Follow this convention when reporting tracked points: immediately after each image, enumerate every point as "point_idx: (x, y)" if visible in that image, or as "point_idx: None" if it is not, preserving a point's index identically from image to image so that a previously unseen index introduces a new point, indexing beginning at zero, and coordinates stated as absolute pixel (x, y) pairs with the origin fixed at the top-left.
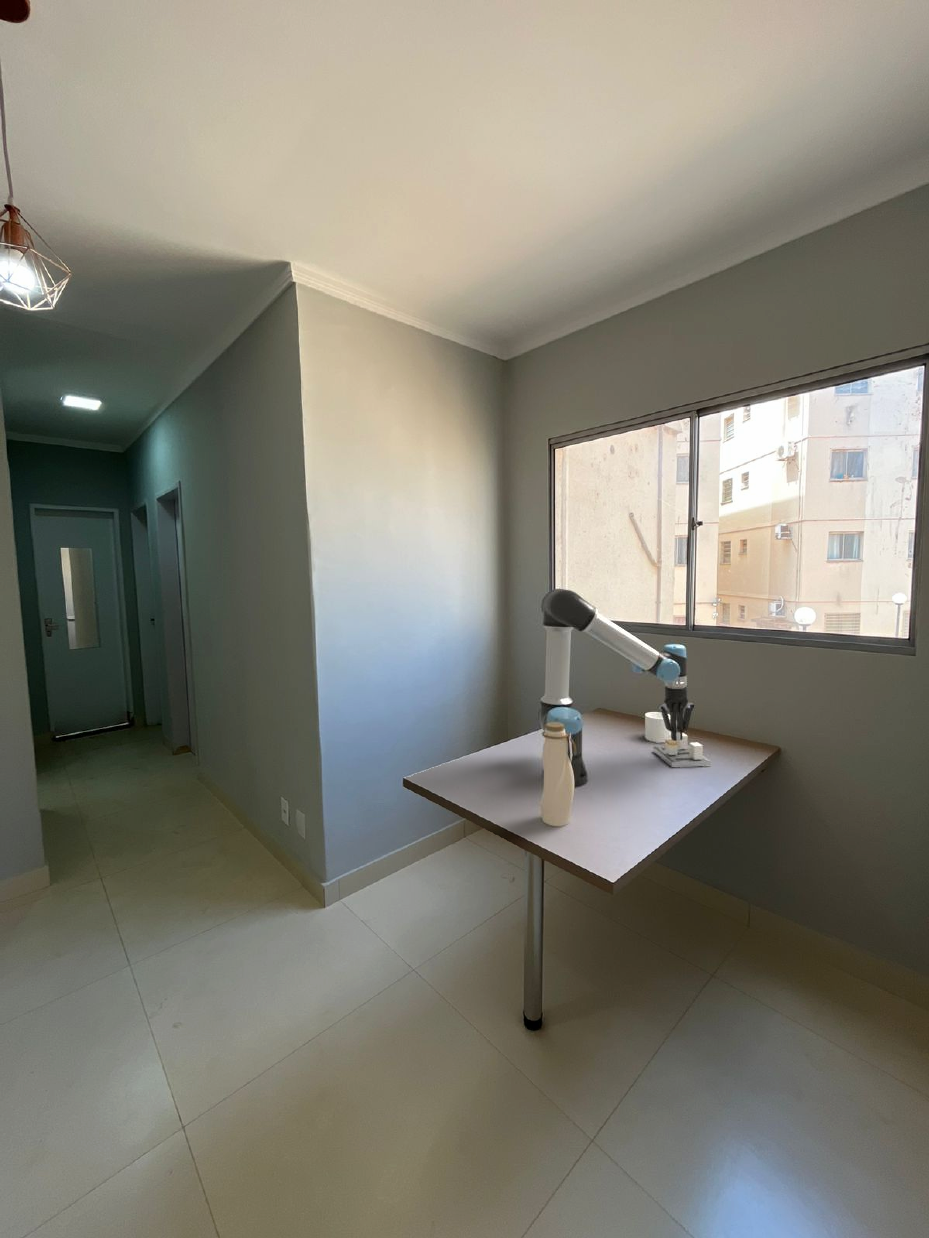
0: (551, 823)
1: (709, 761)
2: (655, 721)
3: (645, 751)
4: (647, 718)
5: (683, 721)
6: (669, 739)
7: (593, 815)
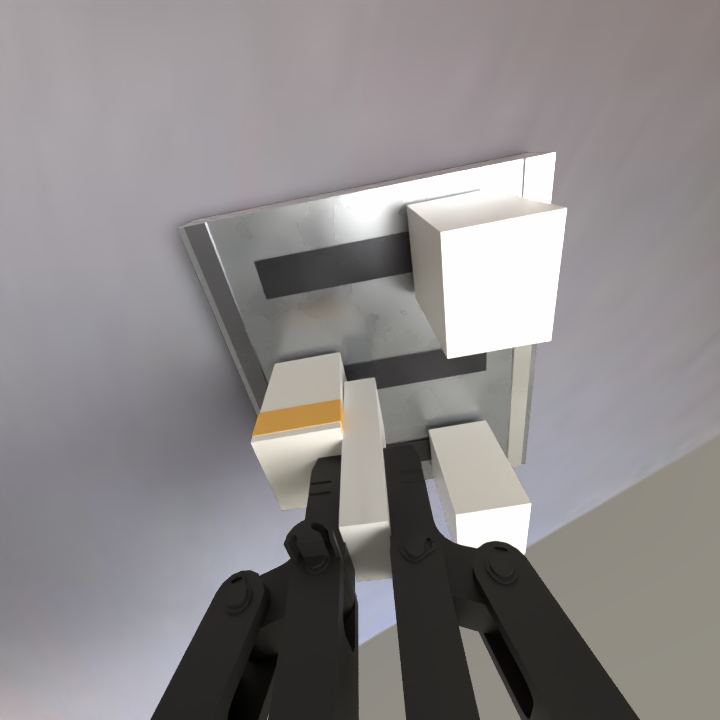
0: None
1: (517, 461)
2: None
3: (125, 205)
4: None
5: (538, 712)
6: (292, 462)
7: (49, 709)
